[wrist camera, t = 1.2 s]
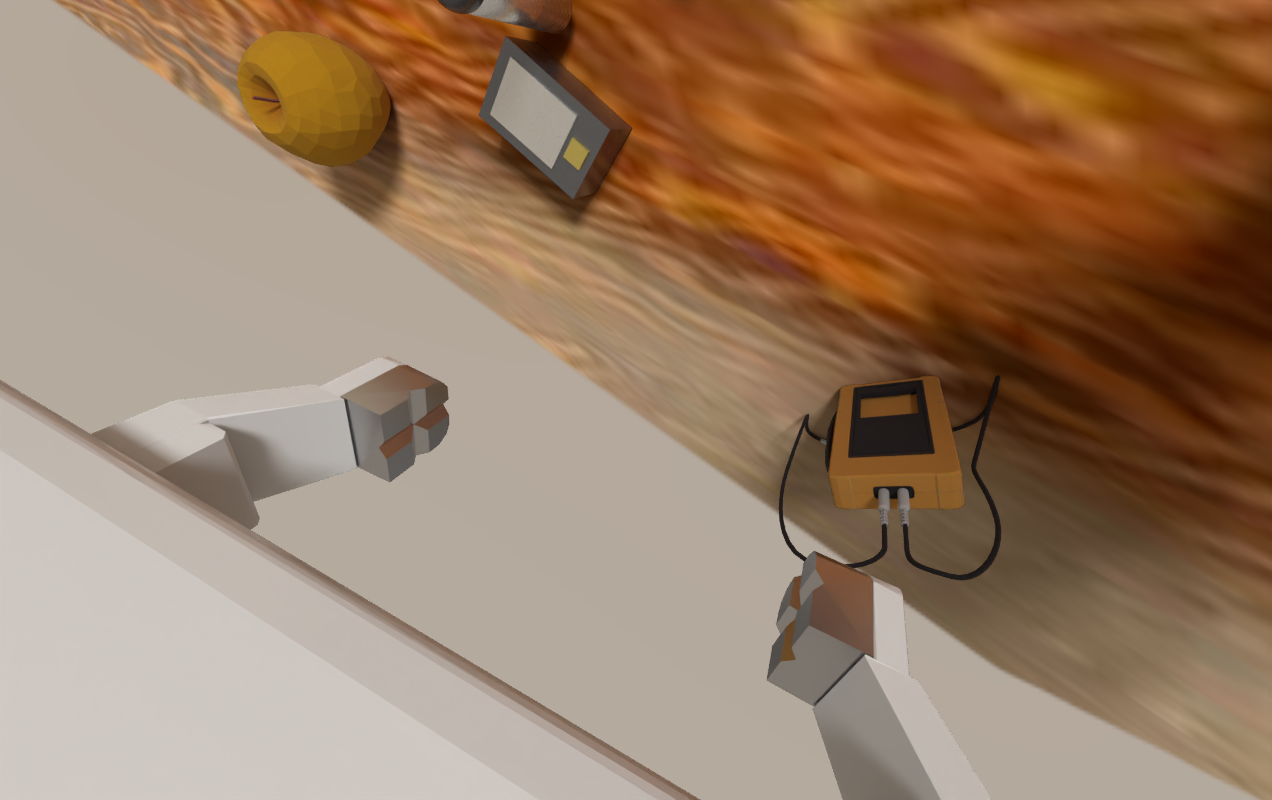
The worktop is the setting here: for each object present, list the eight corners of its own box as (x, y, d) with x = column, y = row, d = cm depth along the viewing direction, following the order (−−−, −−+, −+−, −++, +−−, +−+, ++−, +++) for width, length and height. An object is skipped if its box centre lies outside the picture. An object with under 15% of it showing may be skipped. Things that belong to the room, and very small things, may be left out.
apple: (410, 178, 48) (301, 194, 39) (336, 128, 49) (212, 132, 40) (423, 73, 42) (298, 63, 33) (339, 17, 43) (193, -8, 34)
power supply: (536, 42, 37) (504, 35, 34) (632, 128, 38) (608, 129, 34) (509, 114, 41) (477, 115, 38) (596, 192, 41) (571, 199, 38)
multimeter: (817, 479, 46) (786, 667, 31) (796, 389, 43) (749, 551, 27) (1004, 474, 39) (1090, 719, 23) (998, 365, 35) (1095, 568, 20)
